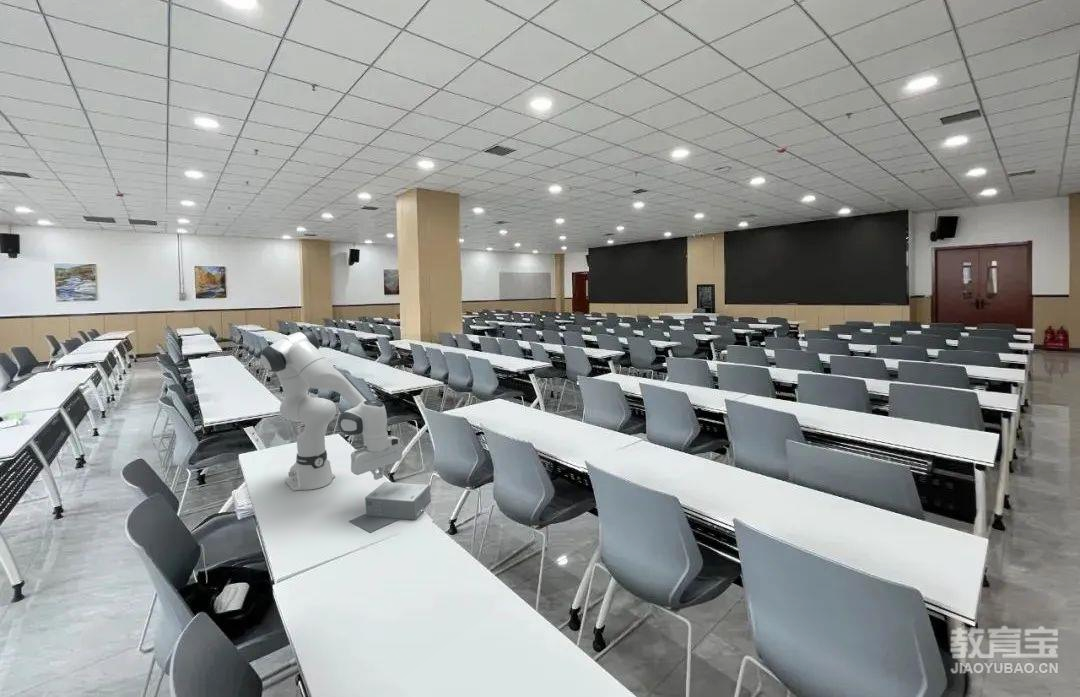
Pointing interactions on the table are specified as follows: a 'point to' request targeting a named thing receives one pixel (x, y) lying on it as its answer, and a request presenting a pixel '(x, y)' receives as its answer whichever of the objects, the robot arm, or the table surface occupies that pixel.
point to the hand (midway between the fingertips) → (378, 478)
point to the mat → (372, 522)
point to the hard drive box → (398, 500)
